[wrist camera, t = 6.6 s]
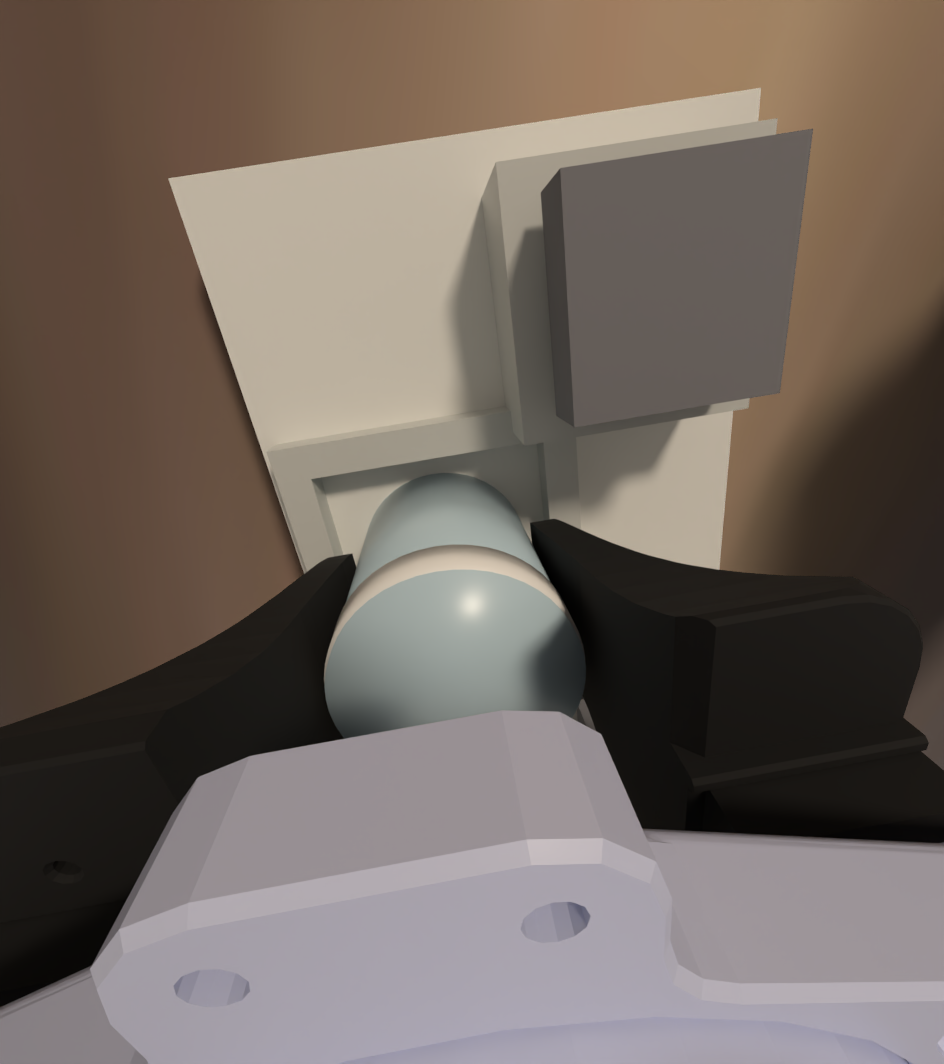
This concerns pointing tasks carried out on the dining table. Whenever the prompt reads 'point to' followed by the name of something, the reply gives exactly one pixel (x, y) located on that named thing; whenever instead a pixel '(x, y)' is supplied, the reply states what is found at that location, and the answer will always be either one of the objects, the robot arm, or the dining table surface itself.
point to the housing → (445, 332)
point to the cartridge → (449, 616)
